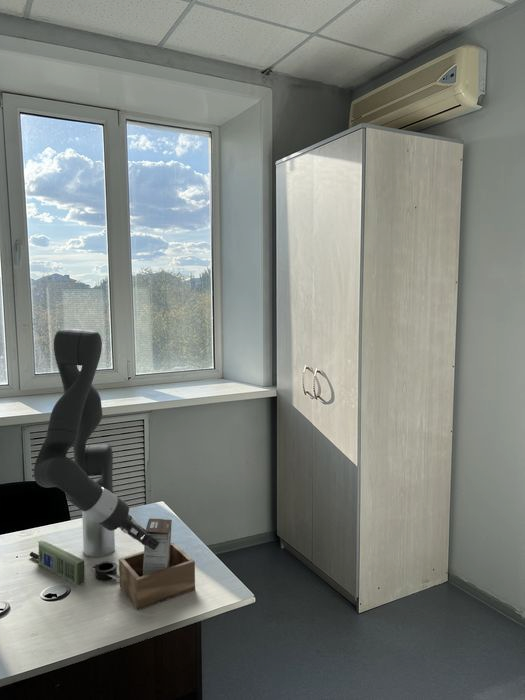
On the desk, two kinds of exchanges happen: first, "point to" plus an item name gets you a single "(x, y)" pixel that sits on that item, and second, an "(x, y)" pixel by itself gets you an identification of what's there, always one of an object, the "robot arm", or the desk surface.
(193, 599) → the desk surface
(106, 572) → the black wing nut
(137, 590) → the walled box
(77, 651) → the desk surface
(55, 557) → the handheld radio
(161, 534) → the coffee box
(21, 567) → the desk surface
